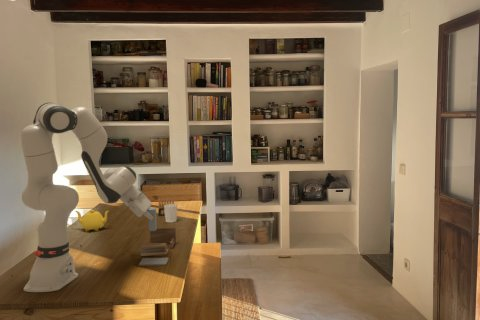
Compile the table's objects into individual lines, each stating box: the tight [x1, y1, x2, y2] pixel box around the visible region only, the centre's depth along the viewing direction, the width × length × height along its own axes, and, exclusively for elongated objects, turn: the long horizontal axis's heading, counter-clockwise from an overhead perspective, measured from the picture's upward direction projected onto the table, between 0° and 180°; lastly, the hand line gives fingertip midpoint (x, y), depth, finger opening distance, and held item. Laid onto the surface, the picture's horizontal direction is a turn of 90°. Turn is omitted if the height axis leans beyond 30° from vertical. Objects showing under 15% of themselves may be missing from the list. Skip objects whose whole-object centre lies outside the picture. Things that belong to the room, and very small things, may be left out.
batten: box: [147, 207, 158, 232], centre depth 203 cm, size 4×3×10 cm
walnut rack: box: [149, 227, 177, 249], centre depth 221 cm, size 10×13×8 cm
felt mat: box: [138, 257, 170, 266], centre depth 197 cm, size 8×12×1 cm, turn 91°
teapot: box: [75, 209, 110, 232], centre depth 255 cm, size 20×15×12 cm
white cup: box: [164, 203, 178, 223], centre depth 270 cm, size 8×8×10 cm
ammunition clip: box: [157, 197, 175, 217], centre depth 285 cm, size 11×2×12 cm, turn 89°
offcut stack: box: [140, 242, 169, 257], centre depth 208 cm, size 5×12×4 cm, turn 91°
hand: (153, 217), depth 202 cm, fingers closed on batten, 4 cm apart
